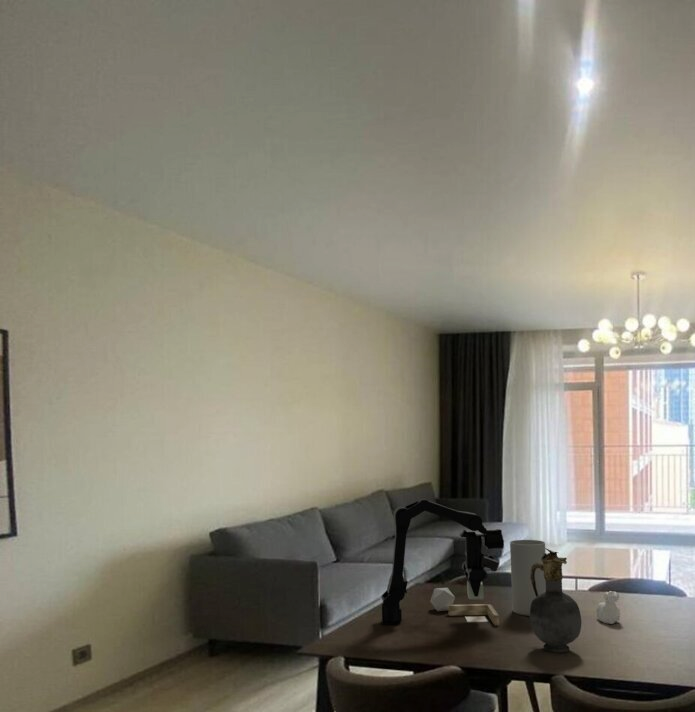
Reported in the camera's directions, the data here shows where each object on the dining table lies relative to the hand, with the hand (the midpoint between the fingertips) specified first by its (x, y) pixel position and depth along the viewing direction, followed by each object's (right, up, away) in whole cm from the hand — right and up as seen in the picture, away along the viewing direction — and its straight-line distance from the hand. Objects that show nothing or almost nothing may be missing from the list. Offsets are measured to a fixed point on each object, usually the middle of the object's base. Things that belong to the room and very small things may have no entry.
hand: (475, 594), depth 275 cm
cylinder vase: (+21, -9, +8) cm, 25 cm away
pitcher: (+18, -5, -36) cm, 41 cm away
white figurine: (+45, -8, -7) cm, 46 cm away
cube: (0, -1, 0) cm, 1 cm away
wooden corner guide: (-1, -9, 0) cm, 9 cm away
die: (-10, -10, +15) cm, 20 cm away
